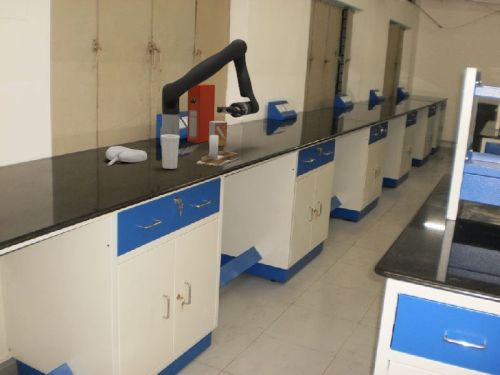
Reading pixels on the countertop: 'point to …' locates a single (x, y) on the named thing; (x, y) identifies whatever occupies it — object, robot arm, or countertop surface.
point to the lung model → (125, 155)
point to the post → (213, 147)
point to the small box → (218, 131)
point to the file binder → (200, 112)
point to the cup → (170, 151)
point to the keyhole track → (219, 159)
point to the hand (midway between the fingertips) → (226, 111)
